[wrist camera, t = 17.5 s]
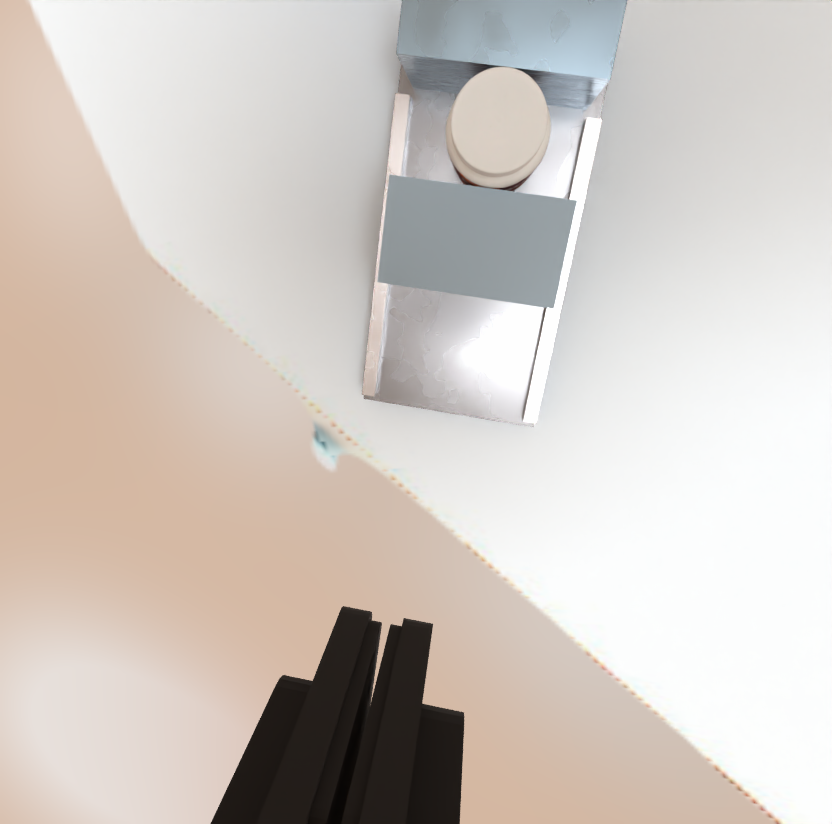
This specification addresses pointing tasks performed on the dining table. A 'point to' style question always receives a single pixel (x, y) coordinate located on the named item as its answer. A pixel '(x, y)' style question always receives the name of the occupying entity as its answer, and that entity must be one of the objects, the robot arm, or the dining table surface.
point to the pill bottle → (498, 129)
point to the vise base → (428, 159)
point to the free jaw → (474, 241)
